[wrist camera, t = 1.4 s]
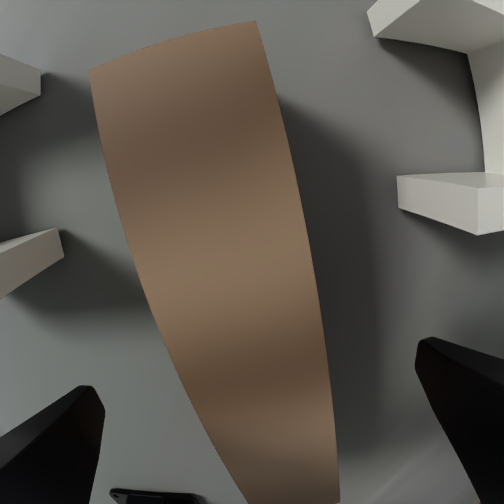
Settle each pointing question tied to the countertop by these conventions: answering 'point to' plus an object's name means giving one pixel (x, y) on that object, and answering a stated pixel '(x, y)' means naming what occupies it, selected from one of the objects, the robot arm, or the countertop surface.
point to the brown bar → (224, 252)
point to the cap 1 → (37, 244)
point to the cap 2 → (488, 98)
